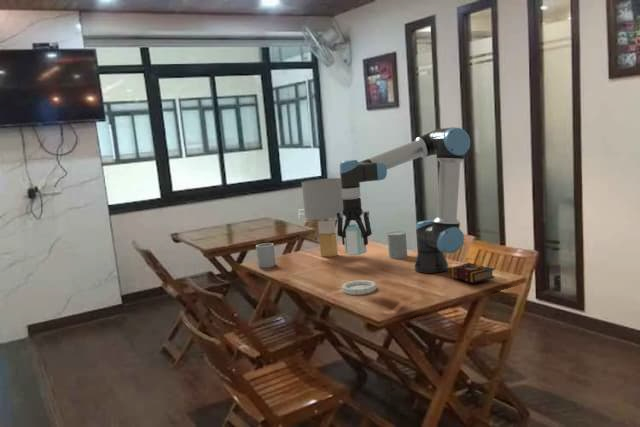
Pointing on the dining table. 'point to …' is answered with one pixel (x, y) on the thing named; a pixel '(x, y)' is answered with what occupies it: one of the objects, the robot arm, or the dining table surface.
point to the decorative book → (471, 272)
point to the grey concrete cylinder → (397, 245)
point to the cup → (265, 255)
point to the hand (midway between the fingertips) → (355, 252)
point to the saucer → (358, 287)
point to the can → (354, 240)
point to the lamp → (324, 209)
